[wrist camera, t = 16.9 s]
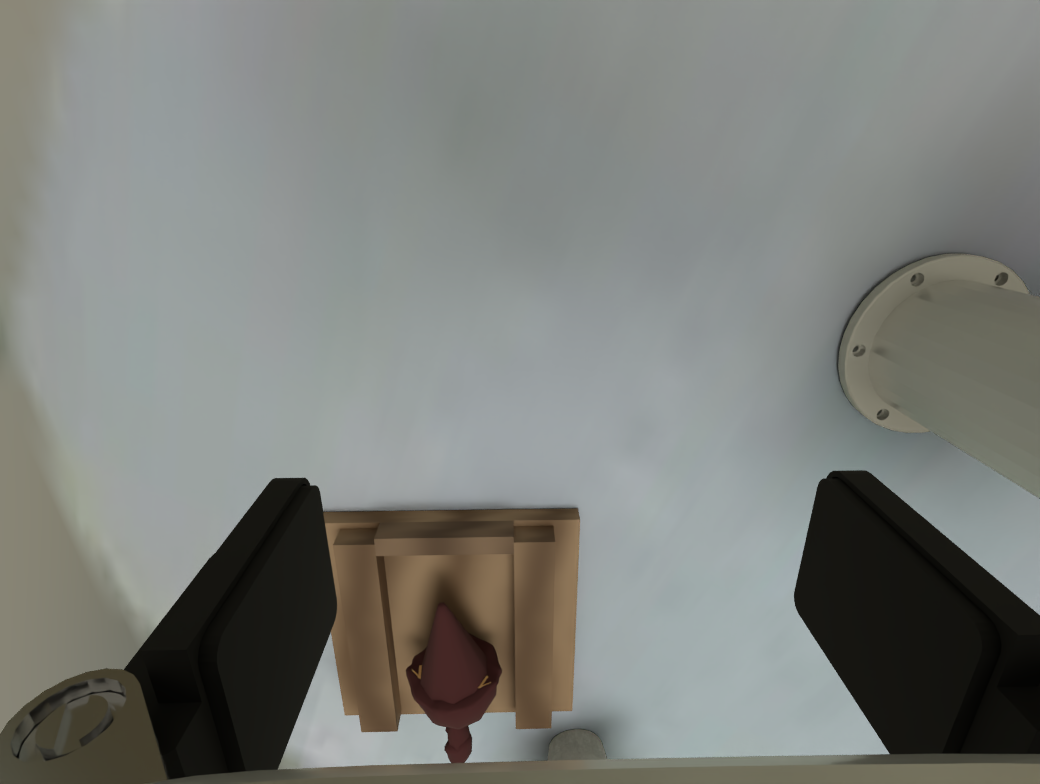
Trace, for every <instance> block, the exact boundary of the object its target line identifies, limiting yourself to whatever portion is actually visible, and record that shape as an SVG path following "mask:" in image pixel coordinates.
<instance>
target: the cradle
mask: <svg viewBox="0 0 1040 784" xmlns="http://www.w3.org/2000/svg"><path fill="white" fill-rule="evenodd" d="M323 514H324V521H325V527H326V533H327V540H328V546H329V552H330V559H331V565H332V571H333V578H334V584H335V590H336V597H337V614H336V619H335V622H334V625H333V627H332V630H331V635H332V641H333V647H334V653H335V659H336V665H337V671H338V677H339V683H340V689H341V695H342V701H343V707H344V712H345V715H359V718H360V725H361V731H362V732H390V731H397V730H398V725H399V720H400V715H401V714H426V713H425V712H424V711H423V709H422V708H421V707H420V706H419V704H418V703H417V702H416V701H415V700H414V699H413V696H412V694H411V688H410V685H409V682H408V679H407V676H406V669H407V667H409V666H410V665H411V664H412V660H413V658H414V656H416V655H417V654H419V653H420V652H422V651H423V650H424V649H425V648H426V647H427V643H428V640H429V636H430V632H431V628H432V625H433V621H434V617H435V613H436V609H437V606H438V604H439V603H441V602H444V603H445V604H446V605H447V606H448V608H449V609H450V610H451V611H452V613H453V614H454V615H455V617H456V618H457V620H458V621H459V622H460V623H461V625H462V626H463V627H464V628H465V630H466V631H467V632H468V633H470V634H472V635H474V636H475V637H477V638H479V639H481V640H484V641H486V642H488V643H490V644H492V645H493V646H494V648H495V650H496V653H497V657H498V661H499V664H500V666H501V668H502V674H501V676H500V678H499V683H498V685H497V691H496V696H495V698H494V699H493V701H492V702H491V704H490V705H489V707H488V708H487V710H486V711H485V713H488V712H516V729H540V728H551V716H552V711H572V703H573V678H574V654H575V630H576V605H577V581H578V557H579V532H580V517H579V512H578V508H574V509H503V510H433V511H362V512H323Z"/></svg>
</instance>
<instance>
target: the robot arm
mask: <svg viewBox="0 0 1040 784" xmlns="http://www.w3.org/2000/svg"><path fill="white" fill-rule="evenodd" d="M838 369H839V376H840V382H841V385H842V388H843V390H844V393H845V395H846V397H847V398H848V400H849V401H850V402H851V404H852V405H853V407H854V408H855V409H856V410H858V411H859V412H860V413H861V414H862V415H863V416H865V417H866V418H868V419H869V420H871V421H872V422H873V423H875V424H877V425H879V426H882V427H884V428H887V429H889V430H893V431H899V432H905V433H924V432H929V431H932V432H933V433H935V434H936V435H938V436H940V437H941V438H943V439H944V440H946V441H948V442H949V443H951V444H952V445H954V446H956V447H957V448H959V449H960V450H962V451H964V452H965V453H967V454H968V455H970V456H972V457H973V458H975V459H977V460H978V461H980V462H981V463H983V464H985V465H986V466H988V467H989V468H991V469H993V470H994V471H996V472H997V473H999V474H1001V475H1002V476H1004V477H1005V478H1007V479H1009V480H1010V481H1012V482H1013V483H1015V484H1017V485H1018V486H1020V487H1022V488H1023V489H1025V490H1026V491H1028V492H1030V493H1031V494H1033V495H1034V496H1036V497H1038V498H1039V499H1040V297H1038V296H1034V295H1030V293H1029V291H1028V289H1027V288H1026V286H1025V284H1024V282H1023V281H1022V280H1021V279H1020V278H1019V276H1018V275H1017V274H1016V273H1015V272H1014V271H1013V270H1011V269H1010V268H1008V267H1007V266H1005V265H1003V264H1002V263H1000V262H998V261H995V260H992V259H989V258H986V257H982V256H976V255H970V254H943V255H938V256H933V257H928V258H925V259H922V260H920V261H917V262H914V263H912V264H909V265H907V266H906V267H904V268H902V269H900V270H899V271H897V272H895V273H893V274H892V275H890V276H889V277H888V278H887V279H885V280H884V281H883V282H882V283H880V284H879V285H878V286H877V287H875V289H874V290H873V291H872V292H871V293H870V294H869V295H868V296H867V297H866V298H865V299H864V300H863V301H862V303H861V304H860V306H859V307H858V309H857V310H856V312H855V313H854V315H853V316H852V318H851V320H850V322H849V324H848V326H847V328H846V330H845V333H844V335H843V339H842V343H841V346H840V350H839V363H838ZM794 601H795V606H796V609H797V611H798V613H799V615H800V617H801V618H802V620H803V621H804V623H805V624H806V626H807V627H808V629H809V630H810V632H811V634H812V635H813V637H814V638H815V640H816V641H817V643H818V644H819V646H820V647H821V649H822V650H823V652H824V653H825V655H826V657H827V658H828V660H829V661H830V663H831V664H832V666H833V667H834V669H835V670H836V672H837V673H838V675H839V677H840V678H841V680H842V681H843V683H844V684H845V686H846V687H847V689H848V690H849V692H850V693H851V695H852V696H853V698H854V700H855V701H856V703H857V704H858V706H859V707H860V709H861V710H862V712H863V713H864V715H865V716H866V718H867V719H868V721H869V723H870V724H871V726H872V727H873V729H874V730H875V732H876V733H877V735H878V736H879V738H880V739H881V741H882V743H883V744H884V746H885V747H886V749H887V750H888V752H889V753H890V754H881V755H813V756H749V757H699V758H649V759H603V760H557V761H518V762H481V763H444V764H407V765H370V766H347V767H325V768H302V769H280V770H278V767H279V764H280V762H281V759H282V757H283V754H284V752H285V749H286V746H287V744H288V741H289V739H290V736H291V733H292V731H293V728H294V726H295V723H296V720H297V718H298V715H299V713H300V710H301V708H302V705H303V702H304V700H305V697H306V695H307V692H308V689H309V687H310V684H311V682H312V679H313V676H314V674H315V671H316V669H317V666H318V664H319V661H320V658H321V656H322V653H323V651H324V648H325V645H326V643H327V640H328V638H329V635H330V632H331V630H332V627H333V625H334V622H335V619H336V614H337V597H336V590H335V584H334V578H333V571H332V565H331V559H330V552H329V546H328V540H327V533H326V527H325V521H324V514H323V508H322V502H321V496H320V491H319V488H318V487H317V486H310V483H309V481H308V480H307V479H306V478H275V479H272V480H271V481H270V482H269V484H268V485H267V486H266V488H265V489H264V490H263V492H262V493H261V494H260V495H259V497H258V498H257V499H256V501H255V502H254V503H253V505H252V506H251V507H250V509H249V510H248V511H247V512H246V514H245V515H244V516H243V518H242V519H241V520H240V522H239V523H238V524H237V525H236V527H235V528H234V529H233V531H232V532H231V533H230V535H229V536H228V537H227V539H226V540H225V541H224V542H223V544H222V545H221V546H220V548H219V549H218V550H217V552H216V553H215V554H214V555H213V556H212V557H211V558H209V560H208V561H207V562H206V564H205V565H204V566H203V567H202V569H201V570H200V571H199V573H198V574H197V575H196V577H195V578H194V579H193V580H192V582H191V583H190V584H189V586H188V587H187V588H186V590H185V591H184V592H183V593H182V595H181V596H180V597H179V599H178V600H177V601H176V602H175V604H174V605H173V606H172V608H171V609H170V610H169V612H168V613H167V614H166V615H165V617H164V618H163V619H162V621H161V622H160V623H159V625H158V626H157V627H156V628H155V630H154V631H153V632H152V634H151V635H150V636H149V638H148V639H147V640H146V641H145V643H144V644H143V645H142V647H141V648H140V649H139V650H138V652H137V653H136V654H135V656H134V657H133V658H132V660H131V661H130V662H129V664H128V665H127V666H126V668H125V669H124V670H122V669H108V668H106V669H100V670H95V671H89V672H85V673H82V674H80V675H77V676H74V677H72V678H69V679H66V680H64V681H62V682H60V683H58V684H57V685H55V686H53V687H51V688H49V689H47V690H45V691H44V692H42V693H41V694H40V695H38V696H37V697H35V698H34V699H33V700H32V701H30V702H29V703H27V704H26V705H25V706H23V708H21V709H20V711H18V712H17V714H15V715H14V717H12V718H11V720H9V721H8V723H7V724H6V726H5V727H4V729H3V730H2V732H1V733H0V784H1040V615H1039V614H1037V613H1036V612H1035V611H1034V610H1033V609H1031V608H1030V607H1029V606H1028V605H1027V604H1026V603H1024V602H1023V601H1022V600H1021V599H1020V598H1018V597H1017V596H1016V595H1015V594H1014V593H1012V592H1011V591H1010V590H1009V589H1008V588H1006V587H1005V586H1004V585H1003V584H1002V583H1001V582H999V581H998V580H997V579H996V578H995V577H993V576H992V575H991V574H990V573H989V572H987V571H986V570H985V569H984V568H983V567H981V566H980V565H979V564H978V563H977V562H976V561H974V560H973V559H972V558H971V557H970V556H968V555H967V554H966V553H965V552H964V551H962V550H961V549H960V548H959V547H958V546H957V545H955V544H954V543H953V542H952V541H951V540H949V539H948V538H947V537H946V536H945V535H943V534H942V533H941V532H940V531H939V530H937V529H936V528H935V527H934V526H933V525H932V524H930V523H929V522H928V521H927V520H926V519H924V518H923V517H922V516H921V515H920V514H918V513H917V512H916V511H915V510H914V509H912V508H911V507H910V506H909V505H908V504H907V503H905V502H904V501H903V500H902V499H901V498H899V497H898V496H897V495H896V494H895V493H893V492H892V491H891V490H890V489H889V488H887V487H886V486H885V485H884V484H883V483H882V482H880V481H879V480H878V479H877V478H876V477H874V476H873V475H872V474H871V473H869V472H867V471H862V470H860V471H832V472H830V473H829V475H828V476H827V478H826V479H822V480H821V481H820V482H819V484H818V487H817V492H816V496H815V501H814V505H813V510H812V514H811V519H810V523H809V528H808V533H807V537H806V542H805V546H804V551H803V555H802V560H801V564H800V569H799V573H798V578H797V582H796V587H795V592H794Z"/></svg>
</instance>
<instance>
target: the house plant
mask: <svg viewBox="0 0 1040 784" xmlns="http://www.w3.org/2000/svg"><path fill="white" fill-rule="evenodd" d="M603 759H607V756H606V753H605V750H604V747H603V744H602V741H601V740H600V738H599V737H598V736H597V735H595V734H594V733H592V732H590V731H587V730H582V729H573V730H567V731H564V732H562V733H560V734H558V735H557V736H555V737H554V738H553V739H552V741H551V743H550V745H549V752H548V761H557V760H603Z"/></svg>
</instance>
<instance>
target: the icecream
mask: <svg viewBox="0 0 1040 784" xmlns="http://www.w3.org/2000/svg"><path fill="white" fill-rule="evenodd" d="M501 674H502V668H501V666H500V664H499V661H498V657H497V653H496V650H495V648H494V646H493V645H492V644H490V643H488V642H486V641H484V640H481V639H479V638H477V637H475V636H474V635H472V634H470V633H468V632H467V631H466V630H465V628H464V627H463V626H462V625H461V623H460V622H459V621H458V620H457V618H456V617H455V615H454V614H453V613H452V611H451V610H450V609H449V608H448V606H447V605H446V604H445V603H444V602H441V603H439V604H438V606H437V609H436V613H435V617H434V621H433V625H432V628H431V632H430V636H429V640H428V643H427V647H426V648H425V649H424V650H423V651H422V652H420V653H419V654H417V655H416V656H414V658H413V660H412V664H411V665H410V666H409V667H407V669H406V676H407V679H408V682H409V685H410V688H411V694H412V696H413V699H414V700H415V701H416V702H417V703H418V704H419V706H420V707H421V708H422V709H423V711H424V712H425V713H426V714H427V716H428V717H429V718H430V720H431V721H432V722H433V723H434V724H436V725H438V726H443V727H446V730H445V731H446V732H447V733H448V741H447V743H446V745H445V751H446V753H447V754H448V758H449V760H450V762H451V763H465V761H466V760H467V758H468V757H469V755H470V754H471V752H472V737H471V734H470V731H469V727H468V725H470V724H472V723H474V722H477V721H479V720H480V719H481V718H482V716H483V715H484V713H485V711H486V710H487V708H488V707H489V705H490V704H491V702H492V701H493V699H494V698H495V696H496V691H497V685H498V683H499V678H500V676H501Z"/></svg>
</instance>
